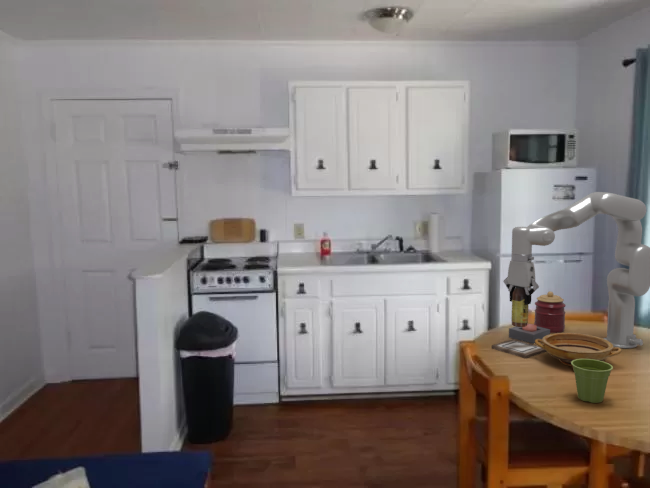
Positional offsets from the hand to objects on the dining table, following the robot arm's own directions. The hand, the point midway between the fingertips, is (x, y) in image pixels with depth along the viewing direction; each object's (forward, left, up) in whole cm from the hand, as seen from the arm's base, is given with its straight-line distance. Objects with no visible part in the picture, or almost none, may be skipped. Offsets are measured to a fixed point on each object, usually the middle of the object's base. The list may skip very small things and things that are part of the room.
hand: (520, 302), depth 220 cm
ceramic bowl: (-22, -4, -20) cm, 30 cm away
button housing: (+7, -17, -20) cm, 27 cm away
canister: (+9, -35, -20) cm, 41 cm away
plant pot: (-43, +24, -20) cm, 53 cm away
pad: (0, 0, -20) cm, 20 cm away
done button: (+7, -17, -17) cm, 25 cm away
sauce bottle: (0, 0, -10) cm, 10 cm away
